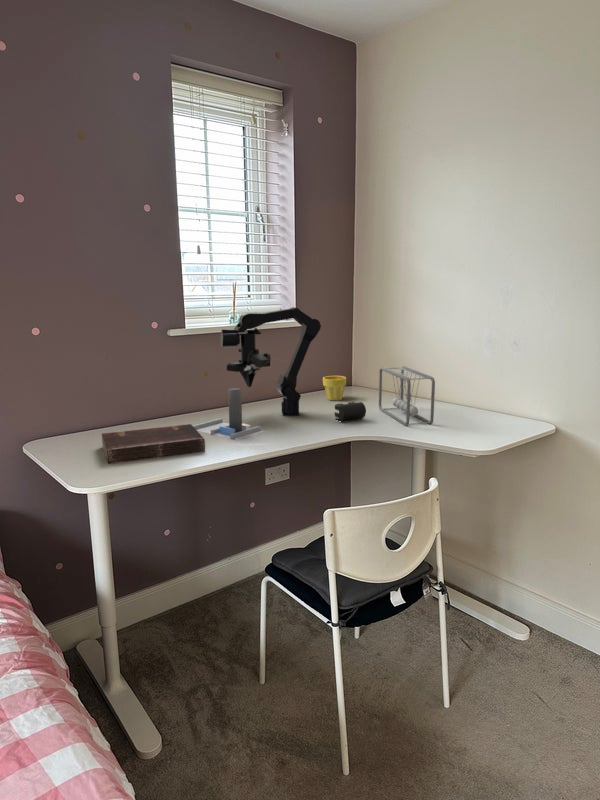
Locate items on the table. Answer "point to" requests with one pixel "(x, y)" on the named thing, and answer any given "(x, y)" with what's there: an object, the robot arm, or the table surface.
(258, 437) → the table surface
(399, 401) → the newton's cradle
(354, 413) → the black cylinder
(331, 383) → the plant pot
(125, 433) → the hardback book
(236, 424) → the grey square pillar
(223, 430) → the board
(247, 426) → the ear clip
